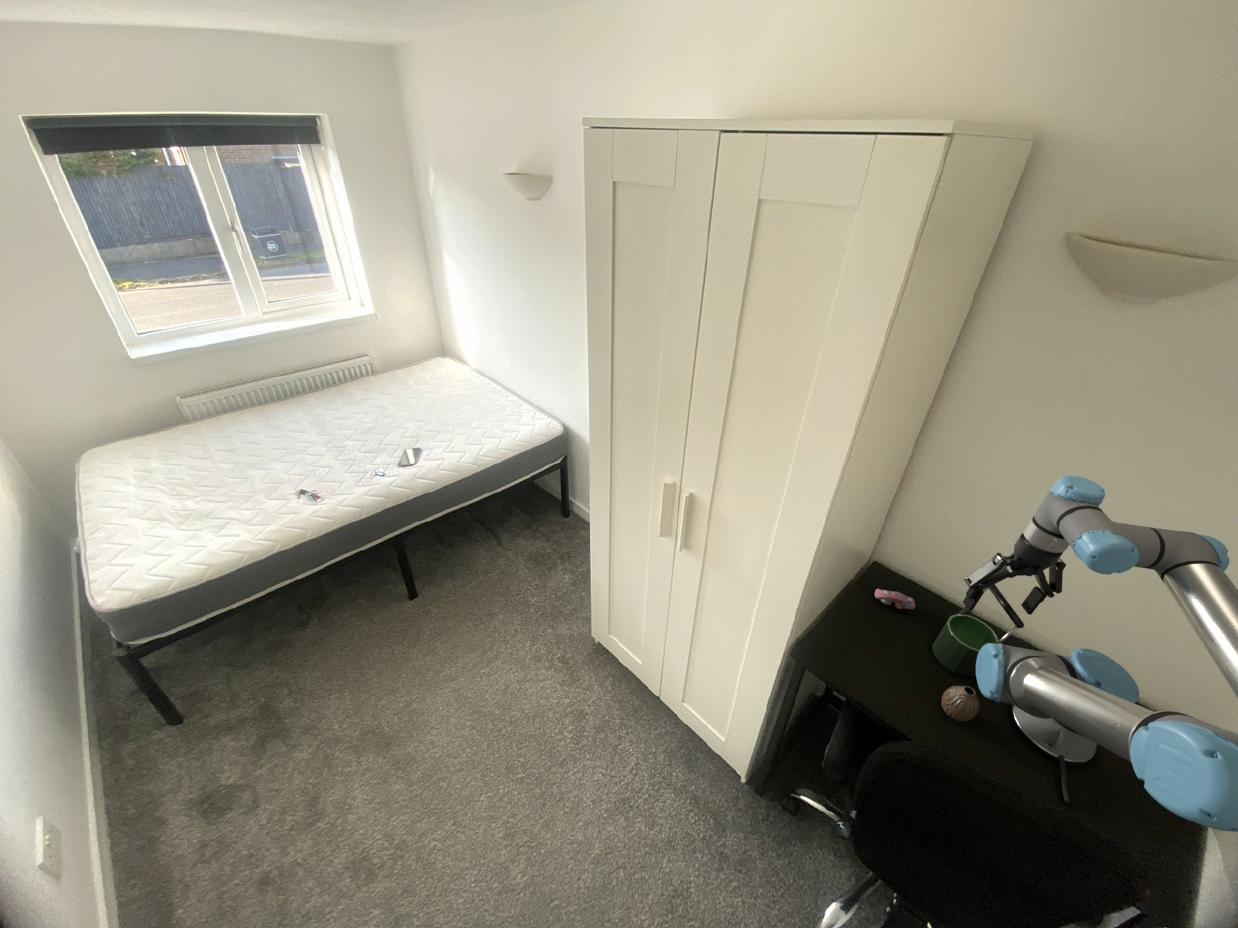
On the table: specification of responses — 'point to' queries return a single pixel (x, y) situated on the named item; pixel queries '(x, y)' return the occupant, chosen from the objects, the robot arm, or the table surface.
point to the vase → (960, 703)
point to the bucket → (969, 638)
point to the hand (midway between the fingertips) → (996, 608)
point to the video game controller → (895, 599)
